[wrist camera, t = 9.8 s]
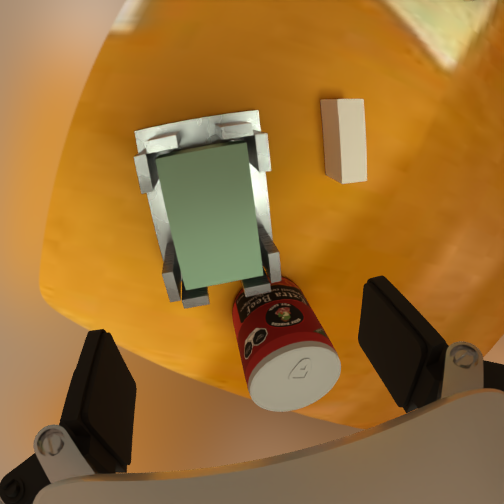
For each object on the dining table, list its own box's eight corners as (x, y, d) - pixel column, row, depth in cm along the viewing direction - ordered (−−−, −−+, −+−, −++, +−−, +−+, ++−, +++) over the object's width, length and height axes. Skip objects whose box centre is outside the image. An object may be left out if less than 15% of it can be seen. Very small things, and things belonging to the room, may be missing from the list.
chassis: (136, 130, 23) (118, 136, 17) (255, 110, 24) (275, 109, 19) (170, 277, 30) (166, 319, 24) (272, 258, 31) (291, 295, 25)
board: (158, 155, 21) (155, 159, 19) (241, 140, 21) (246, 142, 20) (186, 277, 25) (185, 290, 24) (258, 263, 26) (263, 275, 24)
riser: (320, 99, 25) (337, 99, 22) (344, 99, 25) (363, 98, 22) (325, 174, 28) (342, 183, 25) (348, 172, 28) (367, 180, 25)
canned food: (303, 268, 32) (348, 337, 22) (300, 329, 35) (334, 401, 26) (227, 278, 31) (246, 356, 21) (233, 339, 34) (251, 419, 24)
